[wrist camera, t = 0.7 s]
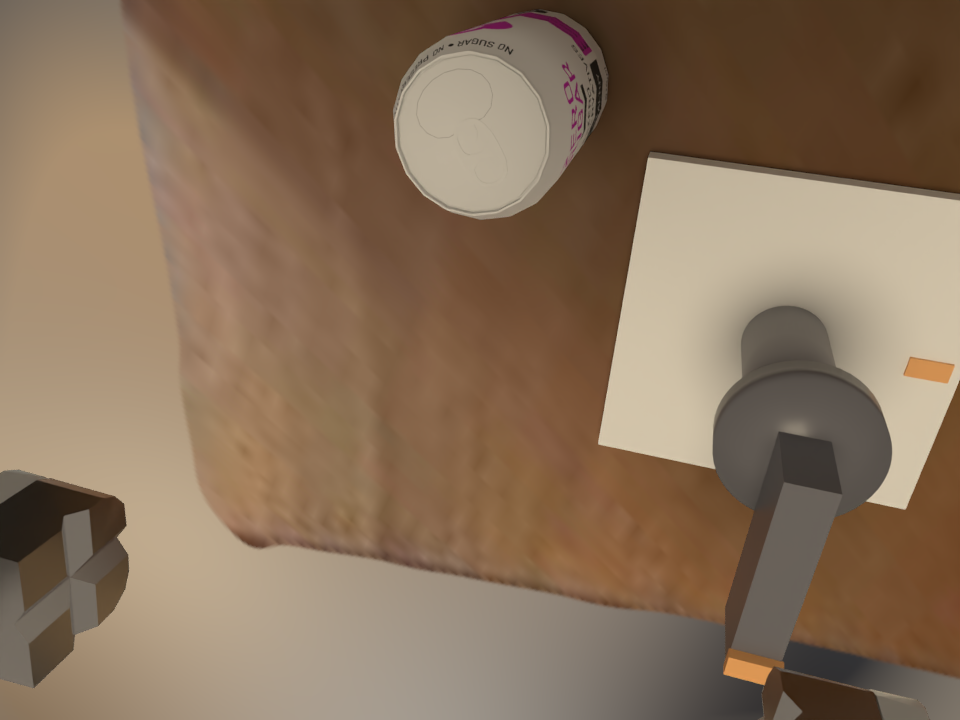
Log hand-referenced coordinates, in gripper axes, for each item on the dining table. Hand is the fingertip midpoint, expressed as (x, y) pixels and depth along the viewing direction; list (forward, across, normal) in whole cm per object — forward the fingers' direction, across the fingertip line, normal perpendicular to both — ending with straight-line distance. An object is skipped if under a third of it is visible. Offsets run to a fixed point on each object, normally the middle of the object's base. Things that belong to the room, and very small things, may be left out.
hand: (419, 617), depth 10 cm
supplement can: (+42, +6, -4) cm, 43 cm away
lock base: (+43, -11, +9) cm, 45 cm away
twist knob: (+32, -11, +13) cm, 36 cm away
